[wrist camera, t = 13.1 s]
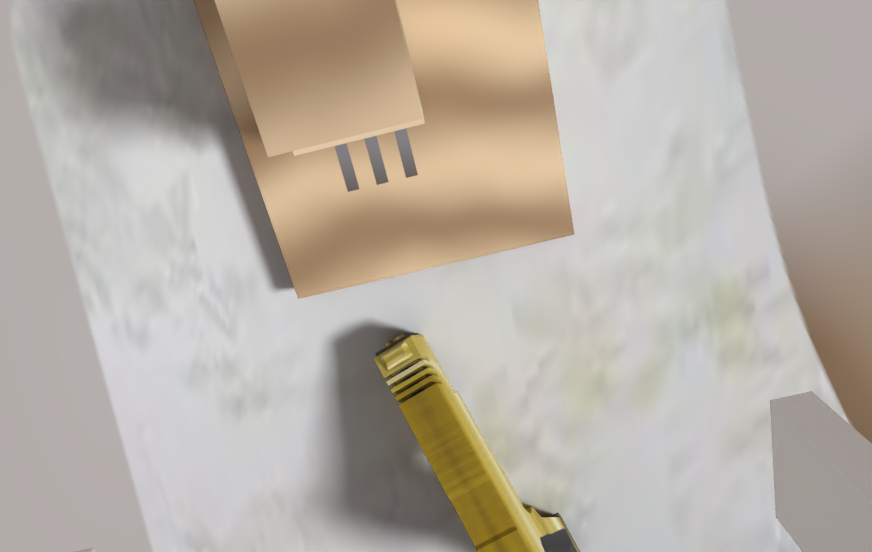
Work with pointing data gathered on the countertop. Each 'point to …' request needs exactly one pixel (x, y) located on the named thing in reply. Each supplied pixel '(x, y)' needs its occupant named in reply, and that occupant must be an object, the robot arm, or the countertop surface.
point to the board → (422, 155)
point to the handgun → (464, 455)
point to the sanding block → (322, 70)
